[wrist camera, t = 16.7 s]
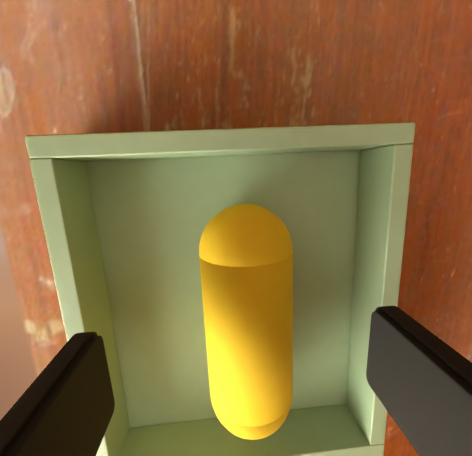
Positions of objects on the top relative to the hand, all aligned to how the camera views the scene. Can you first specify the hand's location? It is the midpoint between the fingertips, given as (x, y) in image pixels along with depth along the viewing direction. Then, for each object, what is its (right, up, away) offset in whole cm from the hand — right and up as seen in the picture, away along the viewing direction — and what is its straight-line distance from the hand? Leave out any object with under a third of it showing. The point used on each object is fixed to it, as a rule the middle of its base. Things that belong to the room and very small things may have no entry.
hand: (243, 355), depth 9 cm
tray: (0, +1, +6) cm, 6 cm away
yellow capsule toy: (0, 0, +5) cm, 5 cm away
